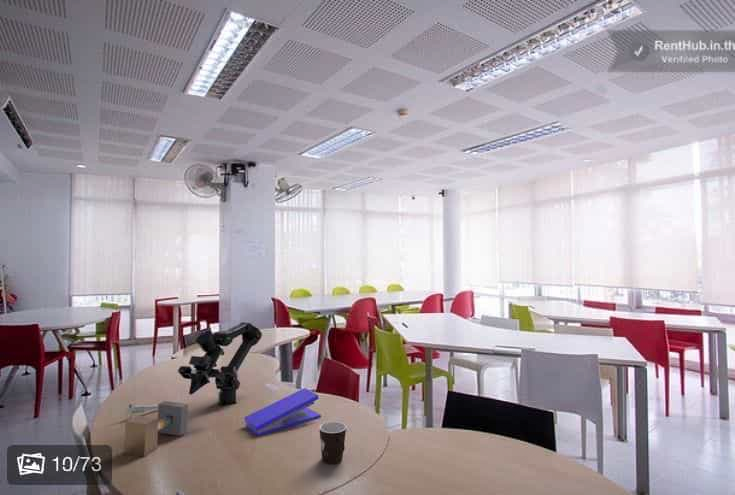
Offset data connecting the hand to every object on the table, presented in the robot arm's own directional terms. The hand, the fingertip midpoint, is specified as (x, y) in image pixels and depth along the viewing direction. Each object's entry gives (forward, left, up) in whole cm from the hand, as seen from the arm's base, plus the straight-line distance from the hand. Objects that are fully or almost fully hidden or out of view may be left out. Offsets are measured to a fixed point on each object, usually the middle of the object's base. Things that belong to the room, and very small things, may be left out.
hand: (190, 394), depth 144 cm
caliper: (+10, -21, -12) cm, 26 cm away
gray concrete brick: (+7, +6, -11) cm, 14 cm away
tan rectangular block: (+13, +11, -11) cm, 20 cm away
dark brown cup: (-32, +54, -12) cm, 64 cm away
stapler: (-31, +18, -12) cm, 38 cm away
